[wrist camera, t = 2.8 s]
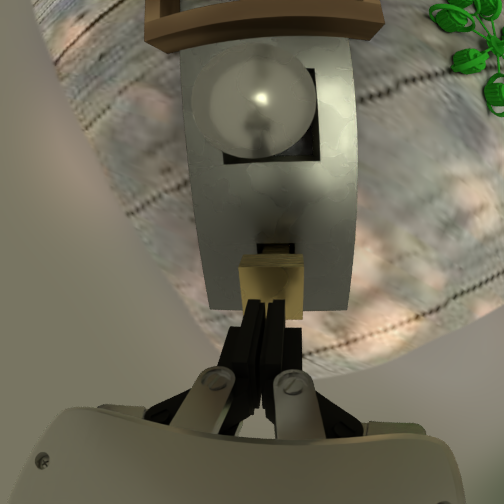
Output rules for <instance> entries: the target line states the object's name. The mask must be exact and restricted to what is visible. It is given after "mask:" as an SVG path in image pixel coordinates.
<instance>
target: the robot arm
mask: <svg viewBox="0 0 504 504" xmlns="http://www.w3.org/2000/svg"><path fill="white" fill-rule="evenodd" d="M261 394H262V406H263V409H265V413H266V418H268V419H269V420H270V421H271V422H272V423H273V424H274V431H275V439H260V438H246V437H238V435H239V433H240V430H241V428H242V425H243V420H244V419H246V418H248V417H249V416H250V415H254V409H255V408H257V409H258V408H259V406H260V400H261ZM7 504H466V501H465V493H464V488H463V483H462V478H461V474H460V471H459V468H458V464H457V462H456V459H455V457H454V454H453V452H452V451H451V449H450V447H449V446H448V445H447V444H446V443H445V442H444V441H442V440H440V439H438V438H435V437H432V436H428V435H426V431H425V429H424V428H423V427H422V426H421V425H419V424H416V423H392V422H376V421H369V422H368V423H361V422H360V421H359V420H357V419H356V418H355V417H353V416H352V415H350V414H349V413H347V412H346V411H344V410H343V409H341V408H340V407H338V406H337V405H335V404H334V403H332V402H331V401H329V400H328V399H327V398H325V397H324V396H322V395H321V394H319V393H318V392H317V391H315V388H314V384H313V380H312V378H311V376H310V375H308V374H307V373H306V372H304V371H302V328H285V299H273V303H271V302H269V303H268V309H267V315H266V310H265V302H261V300H260V299H248V301H247V305H246V309H245V312H244V316H243V320H242V324H241V327H234V326H231V327H230V328H229V330H228V334H227V337H226V340H225V343H224V346H223V349H222V352H221V355H220V359H219V362H218V365H217V366H214V367H210V368H207V369H205V370H204V371H202V373H200V375H199V376H198V378H197V380H196V381H195V383H194V384H193V386H192V388H191V389H189V390H187V391H185V392H183V393H180V394H178V395H176V396H174V397H172V398H170V399H167V400H165V401H163V402H161V403H158V404H156V405H154V406H152V407H151V408H150V409H146V408H145V407H144V406H124V405H112V404H103V405H100V406H98V407H97V408H94V407H73V408H68V409H65V410H63V411H61V412H60V413H59V414H57V415H56V417H54V419H53V420H52V421H51V422H50V424H49V425H48V426H47V427H46V429H45V430H44V432H43V433H42V435H41V436H40V438H39V440H38V441H37V443H36V444H35V446H34V448H33V449H32V451H31V453H30V455H29V457H28V458H27V461H26V462H25V464H24V467H23V468H22V470H21V472H20V474H19V476H18V478H17V480H16V482H15V485H14V487H13V489H12V492H11V494H10V497H9V499H8V501H7Z"/></svg>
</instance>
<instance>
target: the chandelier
mask: <svg viewBox="0 0 504 504" xmlns="http://www.w3.org/2000/svg"><path fill="white" fill-rule="evenodd" d="M447 1H448V2H449V3H450V4H451V5H450V4H435V5H433V6H431V7H430V8H429V16H430V18H431V19H432V20H433V21H434V22H436V23H438V24H439V26H440V27H441V28H442V29H443V30H445V31H447V32H451V33H452V32H455V31H457V32H470V31H473V32H475V33H477V34H478V35H480V36H481V37H483V38H485V39H486V41H487V44H488V46H489V48H488V49H487V50H485V51H481V52H479V51H478V50H476V49H470V48H469V49H464V50H461V51H458V52H456V53H455V54H454V56H453V62H454V64H453V65H452V66H451V68H452V70H453V71H454V72H461V73H463V74H466V75H467V74H472V73H477V72H480V71H481V70H483V69H484V68H485V66H486V63H485V60H487V59H488V58H489V55H488V53H487V52H489V51H490V50H491V51H492V52H493V53H494V54H495V55H496V56H497V65H498V73H496V74H494V75H493V76H491V78H490V79H489V81H488V83H487V85H486V86H485V88H484V94H485V97H486V99H487V106H488V108H489V110H490V111H491V112H492V113H493V114H495V115H497V116H499V117H504V112H502V113H495V112H494V110H493V109H492V107H491V105H493V106H504V84H503V83H493V82H494V81H495V80H496V79H497V78H499V77H504V74H502V73H500V63H499V57H501V56H502V57H503V59H504V55H503V54H504V36H501V37H502V39H503V40H502V41H500V40H499V38H497V37H496V33H495V28H494V22H493V21H494V20H495V19H497V18H498V17H499V15H500V13H501V10H502V2H501V0H447ZM473 1H474V5H475V6H476V8H477V10H476V12H475V13H474V14H470V13H468V12H467V11H465V10H463V9H464V8H466V7H468V6H469V5H471V4H472V3H473ZM438 9H442V10H441V11H439V12H438V13H437V15H436V18H435V17H434V16H433V15H432V12H433V11H435V10H438ZM477 14H479V15H480V16H481V17H482V18H484V19H485V20H487V21H491V23H492V28H493V34H494V36H492V35H491V34H490V33H489V31H488V30H487V28H486V27H485V26H484V24H483V23H482V21H481V20H480V19H479V17H478V16H477ZM482 14H483V15H485V16H490V15H492V14H493V15H492V16H491V17H484V16H483V15H482ZM472 16H476V18H477V19H478V20H479V22H480V23H481V24H482V26H483V27H484V29H485V30H486V32H487V33H488V36H487V37H485V36H484V35H482V34H480V33H479V32H477V31H476V30H474V29H475V21H474V19H473V17H472ZM467 17H468V18H469V19H470V20H471V21H472V25H470V26H468V27H464V26H465V24H467V22H468V19H467ZM443 24H444V25H443ZM502 32H503V35H504V27H503V29H502Z"/></svg>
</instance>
